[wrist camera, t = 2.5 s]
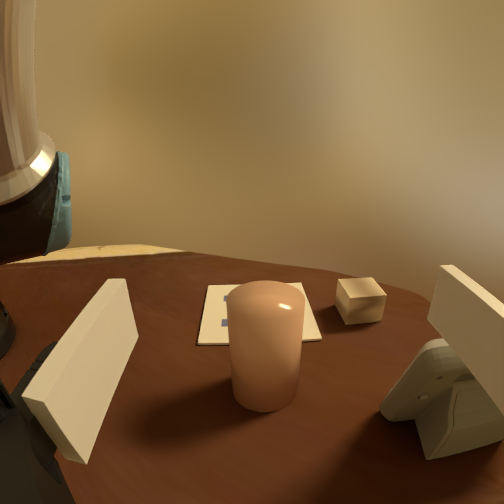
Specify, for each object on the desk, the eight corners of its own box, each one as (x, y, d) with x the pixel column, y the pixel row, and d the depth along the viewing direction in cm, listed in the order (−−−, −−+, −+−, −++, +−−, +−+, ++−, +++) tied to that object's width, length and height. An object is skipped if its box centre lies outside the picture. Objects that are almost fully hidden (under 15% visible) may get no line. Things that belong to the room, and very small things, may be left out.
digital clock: (508, 388, 21) (548, 303, 17) (527, 451, 13) (590, 361, 9) (377, 385, 26) (403, 290, 22) (372, 460, 18) (417, 364, 14)
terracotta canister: (232, 413, 24) (224, 321, 20) (233, 368, 30) (227, 281, 26) (300, 410, 24) (312, 318, 21) (292, 366, 30) (298, 279, 26)
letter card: (198, 344, 33) (197, 342, 33) (208, 287, 46) (208, 285, 46) (321, 340, 34) (321, 337, 34) (300, 284, 47) (301, 282, 47)
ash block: (345, 325, 36) (350, 297, 35) (334, 305, 41) (338, 279, 39) (380, 322, 36) (386, 294, 35) (367, 302, 41) (372, 277, 40)
